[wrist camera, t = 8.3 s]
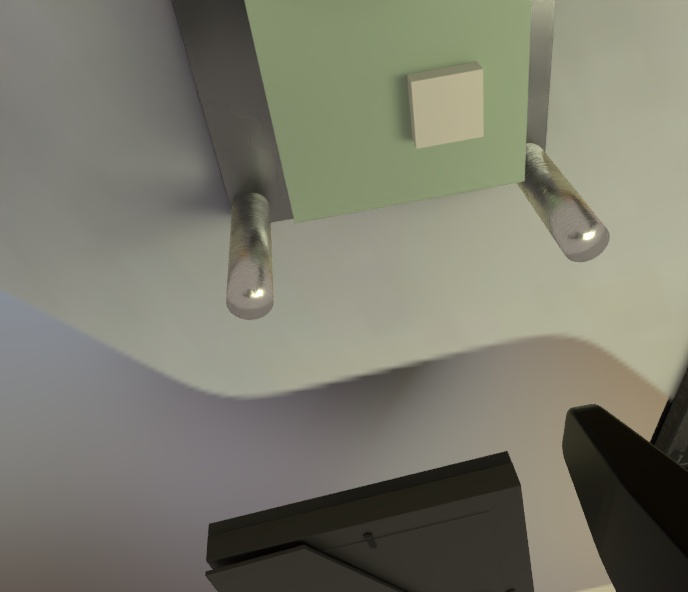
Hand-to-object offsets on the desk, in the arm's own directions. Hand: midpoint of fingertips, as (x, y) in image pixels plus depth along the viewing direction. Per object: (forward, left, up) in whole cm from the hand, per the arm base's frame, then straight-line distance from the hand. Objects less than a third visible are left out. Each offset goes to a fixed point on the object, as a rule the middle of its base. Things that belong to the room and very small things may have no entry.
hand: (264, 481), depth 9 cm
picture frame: (-2, +30, -14) cm, 34 cm away
